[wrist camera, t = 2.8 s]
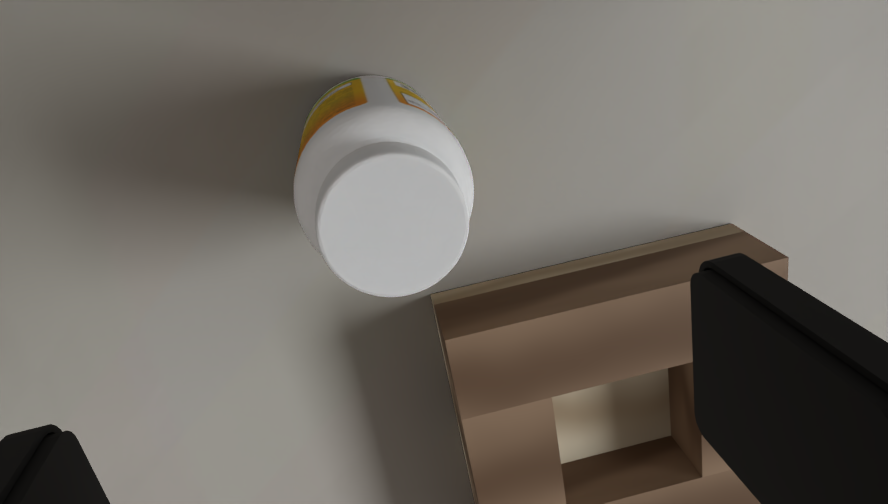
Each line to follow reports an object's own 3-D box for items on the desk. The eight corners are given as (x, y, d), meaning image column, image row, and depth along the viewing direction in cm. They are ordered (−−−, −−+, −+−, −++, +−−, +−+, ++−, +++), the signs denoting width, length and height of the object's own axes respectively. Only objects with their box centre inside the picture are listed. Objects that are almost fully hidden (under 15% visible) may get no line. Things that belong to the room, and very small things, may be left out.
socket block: (430, 294, 28) (444, 340, 25) (731, 223, 29) (788, 257, 26) (479, 528, 34) (497, 593, 30) (731, 461, 35) (778, 517, 31)
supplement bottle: (304, 210, 26) (290, 327, 17) (299, 71, 24) (279, 123, 15) (437, 208, 27) (489, 319, 18) (442, 75, 25) (504, 125, 16)
